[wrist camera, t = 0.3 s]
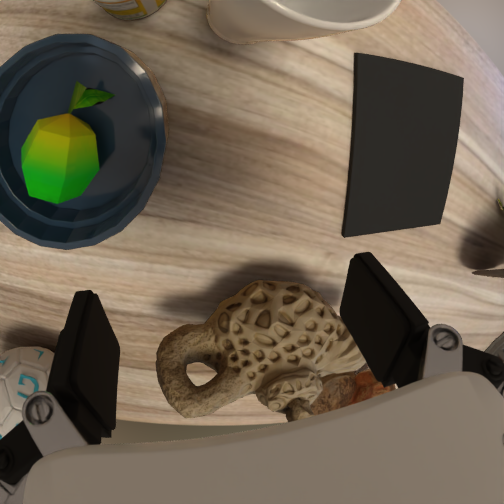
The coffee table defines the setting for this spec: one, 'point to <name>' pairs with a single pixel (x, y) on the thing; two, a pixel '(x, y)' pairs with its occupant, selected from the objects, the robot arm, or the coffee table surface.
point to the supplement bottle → (130, 8)
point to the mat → (400, 145)
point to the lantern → (497, 347)
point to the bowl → (103, 125)
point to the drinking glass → (293, 18)
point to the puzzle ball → (21, 381)
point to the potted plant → (493, 273)
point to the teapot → (259, 351)
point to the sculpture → (347, 390)
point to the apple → (62, 151)
